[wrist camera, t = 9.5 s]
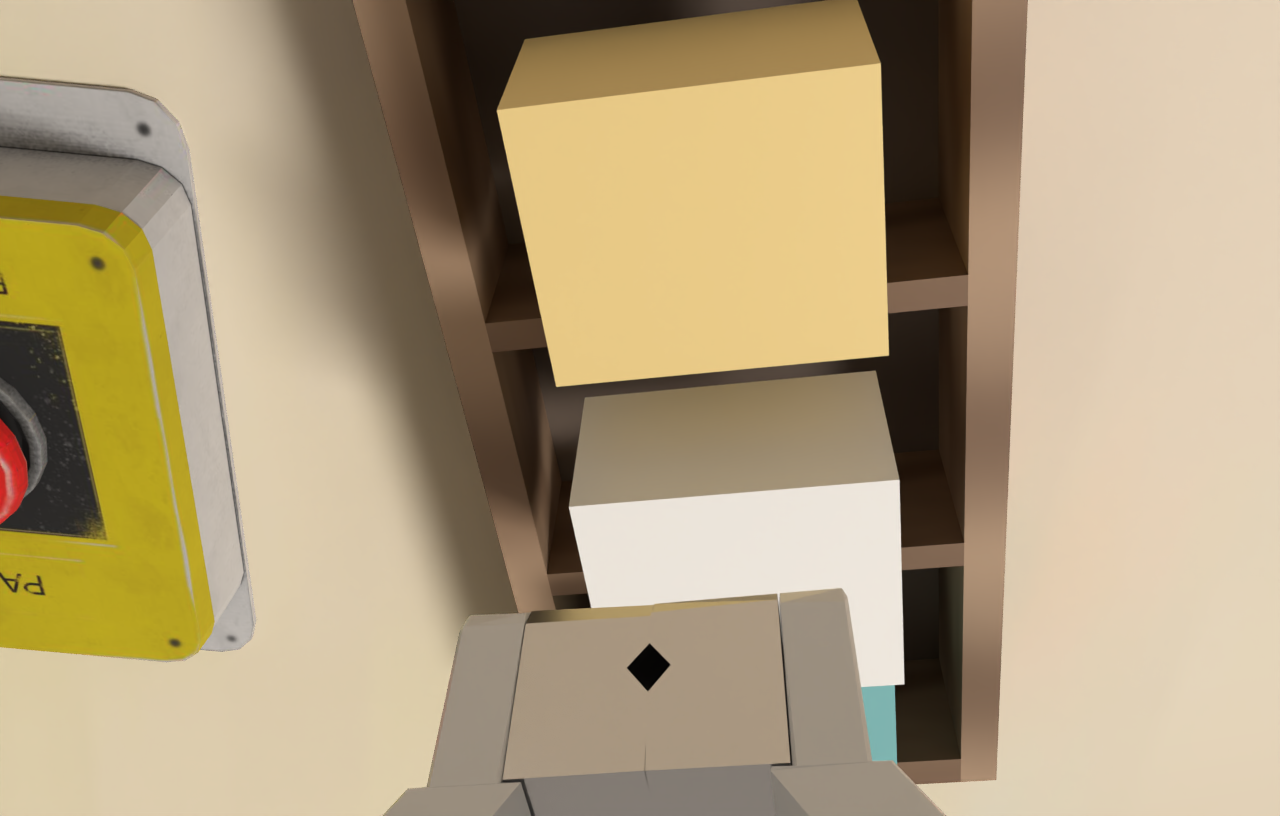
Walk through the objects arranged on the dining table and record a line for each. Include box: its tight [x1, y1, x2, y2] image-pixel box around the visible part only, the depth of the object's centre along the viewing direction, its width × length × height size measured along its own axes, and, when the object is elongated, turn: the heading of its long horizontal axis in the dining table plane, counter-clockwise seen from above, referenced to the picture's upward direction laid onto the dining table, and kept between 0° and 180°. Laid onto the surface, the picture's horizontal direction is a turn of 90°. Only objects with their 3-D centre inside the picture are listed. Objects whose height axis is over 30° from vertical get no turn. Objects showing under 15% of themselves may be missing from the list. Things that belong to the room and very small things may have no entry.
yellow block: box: [497, 0, 889, 387], centre depth 18 cm, size 4×5×4 cm
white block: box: [569, 371, 904, 687], centre depth 21 cm, size 4×5×4 cm
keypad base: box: [352, 0, 1028, 784], centre depth 24 cm, size 20×10×3 cm, turn 8°
